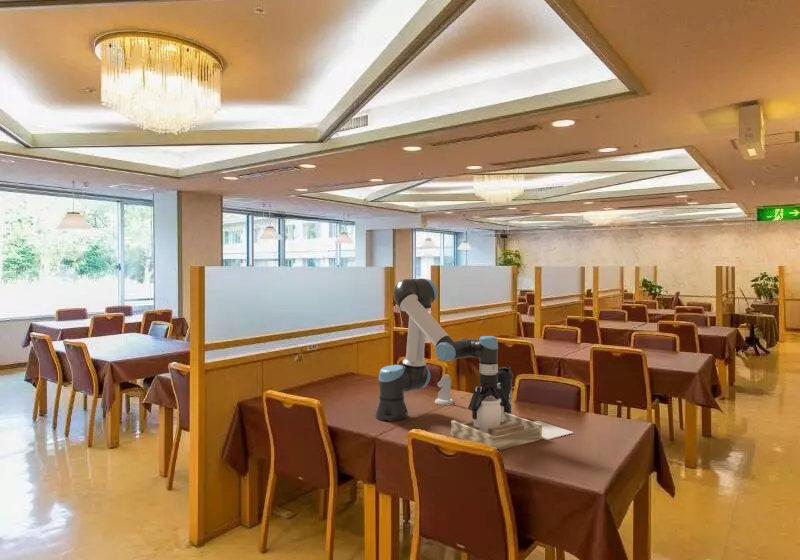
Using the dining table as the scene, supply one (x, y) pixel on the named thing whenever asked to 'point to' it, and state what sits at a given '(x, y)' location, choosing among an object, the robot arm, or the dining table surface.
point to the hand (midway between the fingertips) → (488, 424)
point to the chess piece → (444, 391)
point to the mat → (552, 431)
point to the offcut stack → (505, 429)
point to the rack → (503, 441)
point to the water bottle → (506, 385)
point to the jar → (489, 413)
